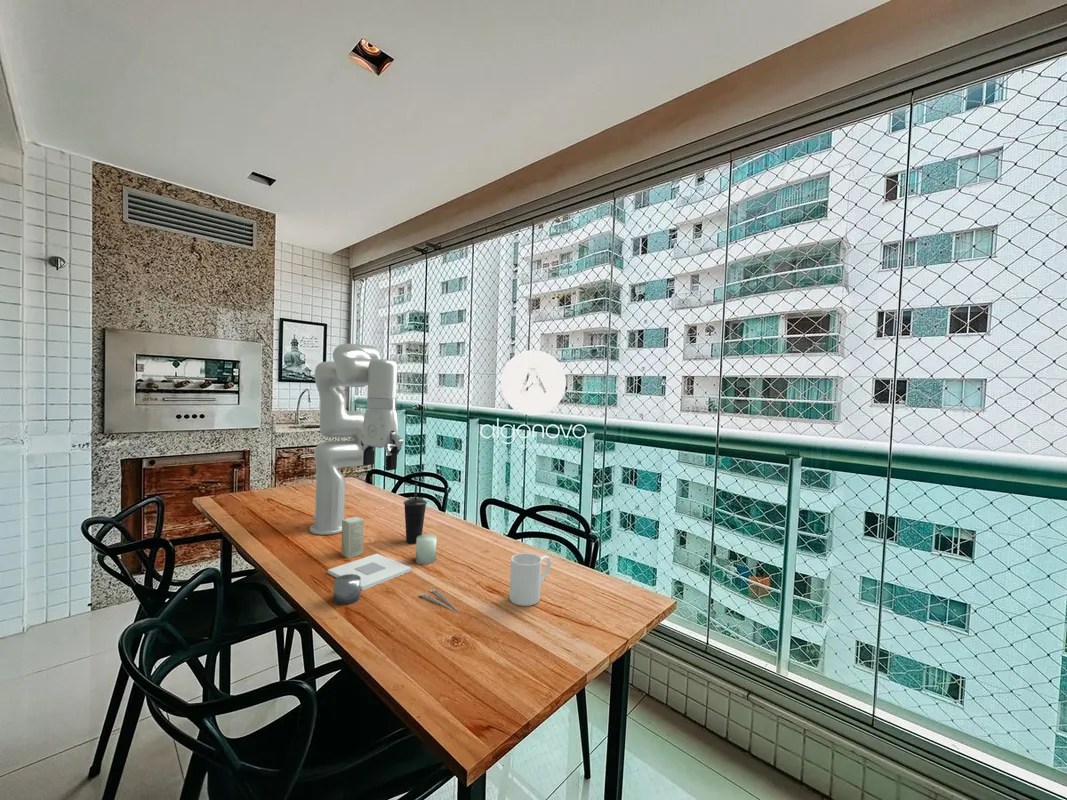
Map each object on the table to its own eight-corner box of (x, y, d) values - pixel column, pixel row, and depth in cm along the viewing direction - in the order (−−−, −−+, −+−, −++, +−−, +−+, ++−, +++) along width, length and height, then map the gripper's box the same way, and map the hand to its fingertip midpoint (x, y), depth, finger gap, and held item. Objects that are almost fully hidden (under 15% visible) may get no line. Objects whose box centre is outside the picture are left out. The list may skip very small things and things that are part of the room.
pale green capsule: (411, 560, 136) (412, 538, 136) (426, 555, 141) (427, 533, 141) (424, 566, 132) (425, 542, 132) (439, 560, 137) (440, 537, 137)
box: (356, 550, 142) (357, 515, 141) (363, 554, 139) (364, 519, 138) (340, 554, 137) (341, 519, 137) (347, 558, 135) (348, 522, 134)
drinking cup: (428, 538, 155) (430, 481, 154) (420, 546, 148) (423, 486, 147) (407, 536, 156) (409, 480, 155) (398, 544, 148) (400, 485, 148)
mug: (522, 609, 110) (524, 567, 109) (503, 597, 116) (505, 557, 115) (558, 596, 118) (560, 557, 117) (538, 585, 124) (540, 547, 123)
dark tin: (328, 599, 110) (329, 579, 110) (350, 591, 115) (351, 572, 115) (342, 607, 106) (343, 587, 106) (364, 598, 111) (365, 579, 111)
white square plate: (327, 573, 124) (327, 569, 124) (377, 556, 137) (377, 553, 137) (362, 590, 115) (362, 586, 115) (411, 571, 128) (411, 567, 128)
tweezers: (417, 597, 114) (418, 590, 114) (432, 592, 118) (433, 585, 117) (460, 629, 103) (461, 621, 102) (476, 622, 106) (477, 614, 106)
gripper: (350, 403, 123) (348, 464, 124) (390, 407, 113) (388, 473, 114) (374, 402, 129) (371, 461, 130) (414, 406, 120) (411, 470, 120)
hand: (379, 467), depth 122 cm, fingers open, 9 cm apart
